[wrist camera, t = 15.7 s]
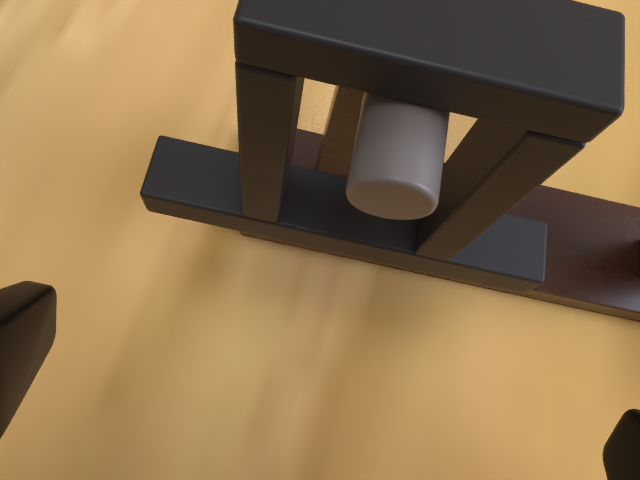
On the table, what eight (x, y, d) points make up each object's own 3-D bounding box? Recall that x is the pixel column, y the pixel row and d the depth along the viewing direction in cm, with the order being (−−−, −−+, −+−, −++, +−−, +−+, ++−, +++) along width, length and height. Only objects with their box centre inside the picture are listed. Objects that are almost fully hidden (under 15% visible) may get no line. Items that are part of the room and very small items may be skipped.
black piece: (524, 294, 13) (809, 157, 6) (146, 211, 13) (30, -27, 6) (528, 235, 14) (796, 51, 7) (164, 153, 13) (75, -126, 7)
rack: (718, 432, 21) (1551, 445, 8) (216, 328, 20) (152, 127, 6) (708, 235, 23) (1309, -14, 10) (265, 133, 22) (291, -293, 9)
